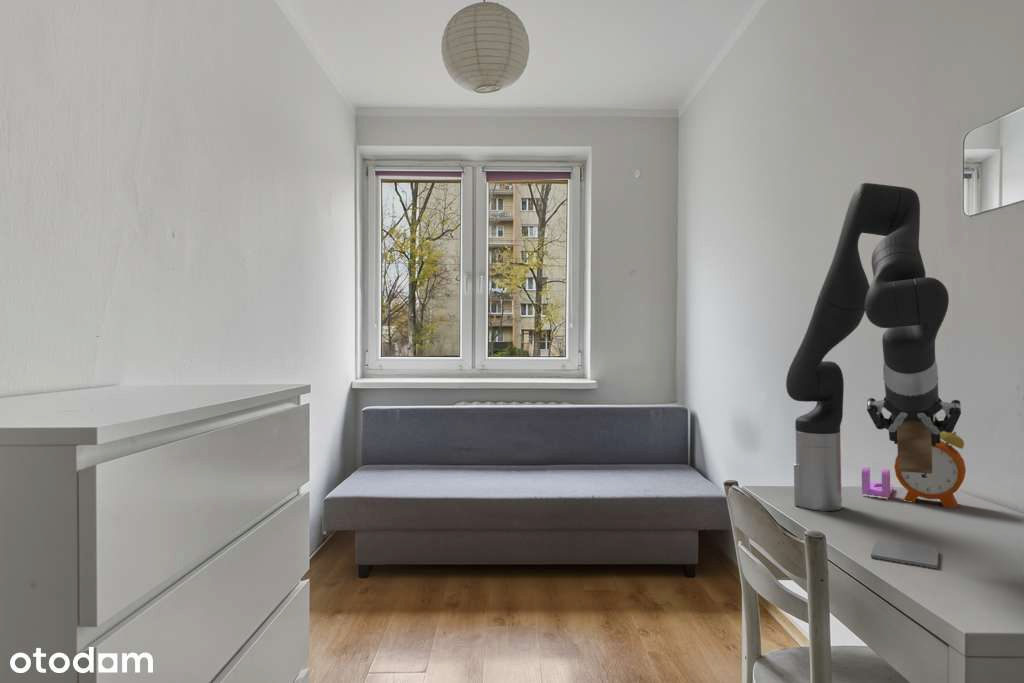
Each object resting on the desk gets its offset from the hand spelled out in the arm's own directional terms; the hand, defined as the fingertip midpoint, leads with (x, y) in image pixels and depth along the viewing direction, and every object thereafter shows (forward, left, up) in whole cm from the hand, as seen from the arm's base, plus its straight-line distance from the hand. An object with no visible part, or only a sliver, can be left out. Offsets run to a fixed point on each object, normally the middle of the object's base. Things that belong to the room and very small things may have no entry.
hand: (914, 441), depth 110 cm
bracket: (-10, +43, -20) cm, 49 cm away
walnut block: (0, -2, -5) cm, 5 cm away
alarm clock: (+1, +39, -20) cm, 43 cm away
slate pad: (-1, -6, -20) cm, 20 cm away
